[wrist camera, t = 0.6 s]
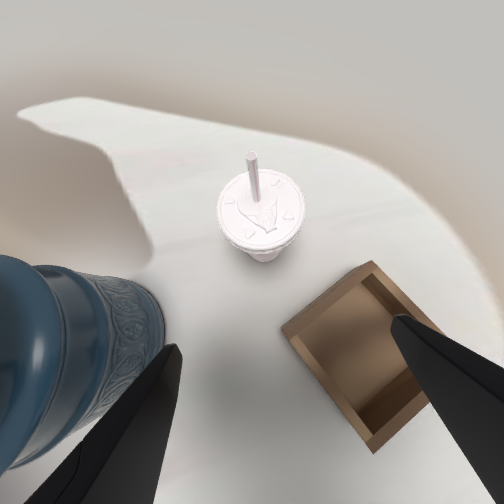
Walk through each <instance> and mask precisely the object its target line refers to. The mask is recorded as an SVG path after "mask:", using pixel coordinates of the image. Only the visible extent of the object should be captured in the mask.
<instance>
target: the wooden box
mask: <svg viewBox="0 0 504 504" xmlns="http://www.w3.org/2000/svg"><path fill="white" fill-rule="evenodd" d="M399 314H406V315H409V316H410V317H412V318H414V319H416V320H418V321H419V322H421V323H423V324H425V325H427V326H428V327H430V328H432V329H434V330H436V331H437V332H439V333H441V334H443V335H445V334H444V333H443V332H442V331H441V330H440V329H439V328H438V327H437V326H436V325H435V324H434V323H433V322H432V321H431V320H430V319H429V318H428V317H427V316H426V315H425V314H424V313H423V312H422V311H421V310H420V309H419V308H418V307H417V306H416V305H415V304H414V303H413V302H412V301H411V300H410V299H409V298H408V297H407V295H406V294H405V293H404V292H403V291H402V290H401V289H400V288H399V287H398V286H397V285H396V284H395V283H394V282H393V281H392V280H391V279H390V278H389V277H388V276H387V275H386V274H385V273H384V272H383V271H382V270H381V269H380V268H379V267H378V266H377V265H376V264H375V263H374V262H373V261H372V260H371V261H369V262H367V263H365V264H363V265H360V266H358V267H356V268H354V269H353V270H352V271H350V272H349V273H348V274H347V275H345V276H344V277H343V278H342V279H340V280H339V281H338V282H337V283H335V284H334V285H333V286H332V287H331V288H329V289H328V290H327V291H326V292H324V293H323V294H322V295H321V296H319V297H318V298H317V299H316V300H314V301H313V302H312V303H311V304H309V305H308V306H307V307H306V308H305V309H303V310H302V311H301V312H300V313H298V314H297V315H296V316H295V317H293V318H292V319H291V320H290V321H288V322H287V323H286V324H285V325H283V326H282V327H281V330H282V332H283V333H284V335H285V336H286V337H287V339H288V340H289V341H290V343H291V344H292V345H293V347H294V348H295V349H296V351H297V352H298V353H299V355H300V356H301V357H302V359H303V360H304V362H305V363H306V364H307V366H308V367H309V368H310V370H311V371H312V372H313V374H314V375H315V376H316V378H317V379H318V380H319V382H320V383H321V384H322V386H323V387H324V388H325V390H326V391H327V393H328V394H329V395H330V397H331V398H332V399H333V401H334V402H335V403H336V405H337V406H338V407H339V409H340V410H341V411H342V413H343V414H344V415H345V417H346V418H347V419H348V421H349V422H350V424H351V425H352V426H353V428H354V429H355V430H356V432H357V433H358V434H359V436H360V437H361V438H362V440H363V441H364V442H365V444H366V445H367V446H368V448H369V449H370V450H371V452H372V453H373V454H374V453H375V452H376V451H377V450H379V449H380V448H381V447H382V446H383V445H384V444H385V443H386V442H387V441H388V440H389V439H390V438H391V437H393V436H394V435H395V434H396V433H397V432H398V431H399V430H400V429H401V428H402V427H403V426H404V425H405V424H407V423H408V422H409V421H410V420H411V419H412V418H413V417H414V416H415V415H416V414H417V413H418V412H419V411H421V410H422V409H423V408H424V407H425V406H426V405H427V404H428V403H429V402H430V401H429V399H428V398H427V396H426V395H425V393H424V392H423V390H422V389H421V387H420V386H419V384H418V382H417V381H416V379H415V378H414V376H413V374H412V373H411V371H410V369H409V367H408V365H407V364H406V362H405V360H404V358H403V356H402V354H401V352H400V350H399V348H398V346H397V344H396V343H395V341H394V339H393V337H392V335H391V332H390V328H391V324H392V320H393V317H394V316H395V315H399ZM445 336H446V335H445ZM446 337H447V336H446Z"/></svg>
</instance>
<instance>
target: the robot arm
mask: <svg viewBox="0 0 504 504" xmlns="http://www.w3.org/2000/svg"><path fill="white" fill-rule="evenodd" d="M390 332H391V335H392V337H393V339H394V341H395V343H396V344H397V346H398V348H399V350H400V352H401V354H402V356H403V358H404V360H405V362H406V364H407V365H408V367H409V369H410V371H411V373H412V374H413V376H414V378H415V379H416V381H417V382H418V384H419V386H420V387H421V389H422V390H423V392H424V393H425V395H426V396H427V398H428V399H429V401H430V402H431V404H432V406H433V407H434V409H435V410H436V412H437V413H438V415H439V416H440V418H441V419H442V421H443V423H444V424H445V426H446V427H447V429H448V430H449V432H450V433H451V435H452V436H453V438H454V440H455V441H456V443H457V444H458V446H459V447H460V449H461V450H462V452H463V453H464V455H465V457H466V458H467V460H468V461H469V463H470V464H471V466H472V467H473V469H474V470H475V472H476V474H477V475H478V477H479V478H480V480H481V481H482V483H483V484H484V486H485V487H486V489H487V490H488V492H489V494H490V495H491V497H492V498H493V500H494V501H495V503H496V504H504V368H502V367H500V366H499V365H497V364H495V363H493V362H491V361H490V360H488V359H486V358H484V357H482V356H481V355H479V354H477V353H475V352H473V351H472V350H470V349H468V348H466V347H464V346H463V345H461V344H459V343H457V342H455V341H454V340H452V339H450V338H448V337H446V336H445V335H443V334H441V333H439V332H437V331H436V330H434V329H432V328H430V327H428V326H427V325H425V324H423V323H421V322H419V321H418V320H416V319H414V318H412V317H410V316H409V315H406V314H399V315H395V316H394V317H393V320H392V324H391V328H390ZM182 361H183V358H182V354H181V352H180V350H179V348H178V346H177V344H167V345H165V346H164V347H163V348H162V349H161V350H160V352H159V353H158V354H157V355H156V356H155V357H154V358H153V360H152V361H151V362H150V363H149V364H148V365H147V366H146V368H145V369H144V370H143V371H142V372H141V373H140V374H139V376H138V377H137V378H136V379H135V380H134V381H133V382H132V384H131V385H130V386H129V387H128V388H127V389H126V390H125V391H124V393H123V394H122V395H121V396H120V397H119V398H118V399H117V401H116V402H115V403H114V404H113V405H112V406H111V407H110V409H109V410H108V411H107V412H106V413H105V414H104V415H103V417H102V418H101V419H100V420H99V421H98V422H97V423H96V425H95V426H94V427H93V428H92V429H91V430H90V431H89V433H88V434H87V435H86V436H85V437H84V439H83V441H81V442H80V443H79V444H78V445H77V446H76V447H75V449H74V450H73V451H72V452H71V453H70V454H69V455H68V456H67V457H66V459H65V460H64V461H63V462H62V463H61V464H60V465H59V466H58V467H57V469H56V470H55V471H54V472H53V473H52V474H51V475H50V476H49V477H48V478H47V479H46V480H45V482H44V483H43V484H42V485H41V486H40V487H39V488H38V489H37V490H36V491H35V492H34V493H33V494H32V495H31V496H30V497H29V499H28V500H27V501H26V502H25V503H24V504H153V502H154V497H155V493H156V489H157V485H158V480H159V476H160V472H161V467H162V463H163V459H164V455H165V450H166V446H167V442H168V438H169V433H170V429H171V425H172V420H173V416H174V412H175V408H176V403H177V397H178V391H179V383H180V376H181V369H182Z"/></svg>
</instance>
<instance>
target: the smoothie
mask: <svg viewBox="0 0 504 504" xmlns="http://www.w3.org/2000/svg"><path fill="white" fill-rule="evenodd" d="M246 161H247V167H248V171H246V172H244V173H241V174H239V175H238V176H236V177H234V178H233V179H232V180H231V181H229V182H228V183H227V185H226V186H225V187H224V188H223V190H222V191H221V193H220V195H219V198H218V201H217V206H216V215H217V220H218V223H219V226H220V228H221V231H222V233H223V234H224V236H225V238H226V239H227V240H228V241H229V242H230V243H231V244H232V245H233V246H235V247H237V248H238V249H240V250H242V251H244V252H247V253H248V254H249V255H250V256H252V257H253V258H254V259H255V260H257V261H259V262H269V261H272V260H273V259H275V258H276V257H277V255H278V254H279V253H280V251H281V250H282V249H283V248H284V247H286V246H287V245H289V244H290V243H291V242H292V241H293V240H294V239H295V238H296V237H297V236H298V234H299V232H300V230H301V228H302V226H303V222H304V217H305V212H306V204H305V199H304V195H303V193H302V191H301V189H300V188H299V186H298V185H297V184H296V182H295V181H294V180H292V179H291V178H290V177H289V176H287V175H285V174H283V173H281V172H279V171H276V170H271V169H258V164H257V154H256V153H255V152H253V151H250V152H248V153H247V154H246Z"/></svg>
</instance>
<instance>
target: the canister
mask: <svg viewBox="0 0 504 504" xmlns="http://www.w3.org/2000/svg"><path fill="white" fill-rule="evenodd" d="M164 333H165V331H164V321H163V316H162V313H161V310H160V308H159V306H158V304H157V302H156V301H155V299H154V298H153V297H152V295H151V294H150V293H149V292H147V291H146V290H145V289H144V288H142V287H140V286H138V285H137V284H135V283H133V282H131V281H129V280H126V279H122V278H117V277H111V276H97V275H91V274H86V273H81V272H75V271H73V270H70V269H67V268H65V267H60V266H53V265H37V266H31V265H29V264H28V263H26V262H24V261H22V260H20V259H17V258H13V257H10V256H6V255H0V478H1V477H2V476H3V475H4V474H5V473H6V472H7V471H10V470H14V469H17V468H19V467H22V466H24V465H27V464H29V463H31V462H33V461H35V460H37V459H38V458H40V457H42V456H43V455H45V454H46V453H48V452H49V451H51V450H52V449H53V448H54V447H56V446H57V445H58V444H59V443H60V442H61V441H63V440H64V439H65V438H66V437H68V436H70V435H71V434H73V433H74V432H76V431H78V430H79V429H81V428H82V427H84V426H85V425H87V424H88V423H90V422H92V421H93V420H95V419H96V418H98V417H101V416H103V415H104V414H105V413H106V412H107V411H108V410H109V409H110V407H111V406H112V405H113V404H114V403H115V402H116V401H117V399H118V398H119V397H120V396H121V395H122V394H123V393H124V391H125V390H126V389H127V388H128V387H129V386H130V385H131V384H132V382H133V381H134V380H135V379H136V378H137V377H138V376H139V374H140V373H141V372H142V371H143V370H144V369H145V368H146V366H147V365H148V364H149V363H150V362H151V361H152V360H153V358H154V357H155V356H156V355H157V354H158V353H159V352H160V350H161V349H162V348H163V344H164Z"/></svg>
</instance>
